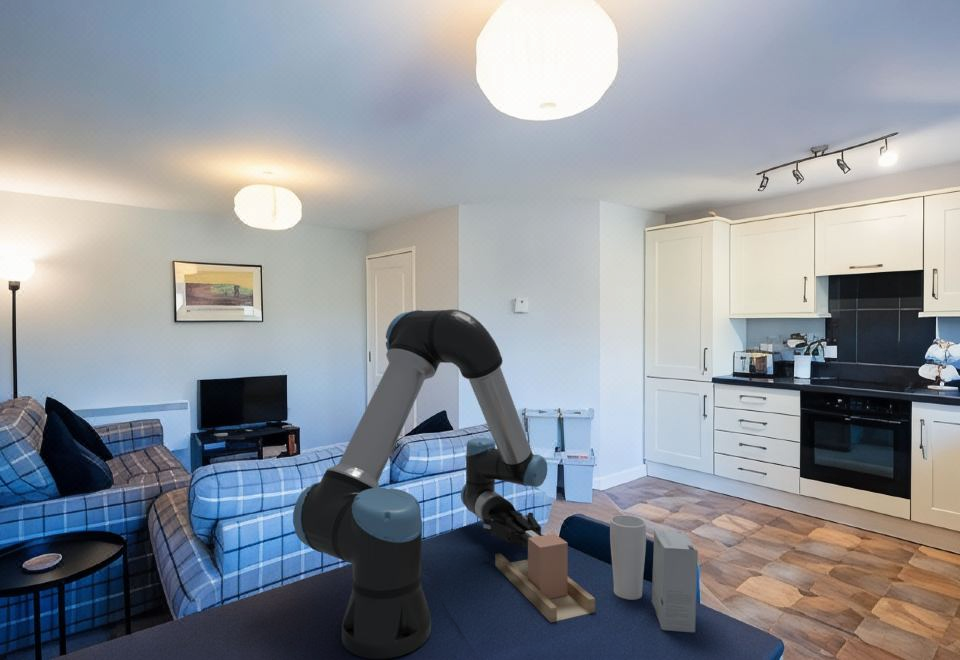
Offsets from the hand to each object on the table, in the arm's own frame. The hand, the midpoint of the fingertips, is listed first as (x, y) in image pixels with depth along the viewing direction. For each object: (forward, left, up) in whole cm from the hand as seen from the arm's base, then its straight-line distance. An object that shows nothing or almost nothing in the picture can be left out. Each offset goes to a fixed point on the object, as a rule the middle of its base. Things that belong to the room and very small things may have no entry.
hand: (543, 548), depth 103 cm
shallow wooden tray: (-1, 0, -8) cm, 8 cm away
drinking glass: (+16, 0, -9) cm, 19 cm away
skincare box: (+23, -7, -9) cm, 26 cm away
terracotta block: (+1, -3, -7) cm, 8 cm away
